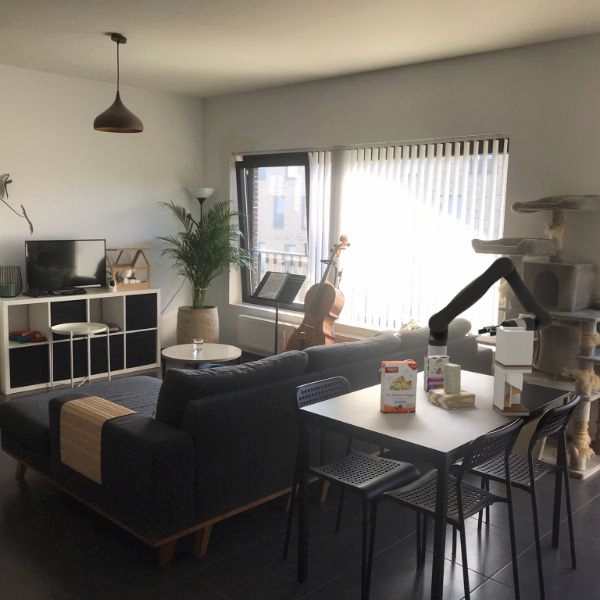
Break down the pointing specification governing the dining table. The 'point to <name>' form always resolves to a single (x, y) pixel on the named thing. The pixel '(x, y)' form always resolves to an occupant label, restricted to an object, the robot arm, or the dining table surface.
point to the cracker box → (398, 386)
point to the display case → (511, 368)
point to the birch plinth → (451, 398)
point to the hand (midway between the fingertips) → (484, 333)
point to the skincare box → (452, 378)
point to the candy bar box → (434, 371)
